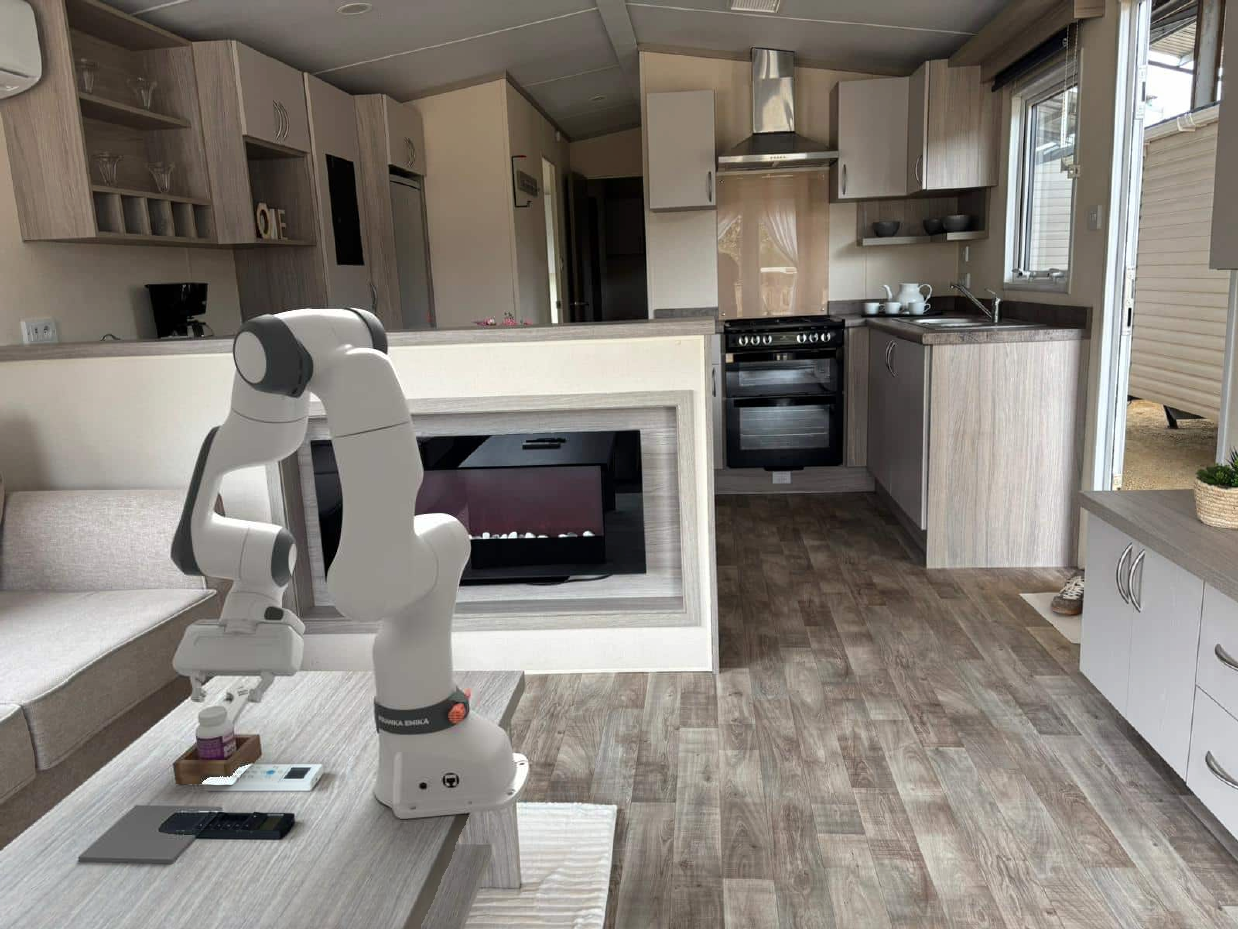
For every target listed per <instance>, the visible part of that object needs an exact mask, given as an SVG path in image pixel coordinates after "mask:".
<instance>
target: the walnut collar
mask: <svg viewBox="0 0 1238 929" xmlns="http://www.w3.org/2000/svg"><path fill="white" fill-rule="evenodd" d="M234 735H235V742H236V749H237V751H236V752H235V753H234V754H233V755H232V756H231V757H230V758H229V759H228V760H199V755H198V748H197V741H196V742H195V743H193V745H191V746H190V747H189V748H188V749H187V750H186V751H185V752H184V753H182V754H181V755H180V756H179V757H178V758H177V759H176V760H175V761H173V762H172V768H173V775H174V781H175V785H176V784H181V785H182V784H187V785H186V786H189V784H192V785H191V786H200V785H199V784H202V782H203V781H204V780H206V779H207V778H209V777H220V776H221V777H222V776H223V777H227V776H228V777H230V776H232V775H233V773H235V771H236V770H237V769H238V768H239V767H242V766H245V765H248V764H251V763H254V762H255V761H256V760H257V759H260V758H261V756H262V755H263V752H262V744H261V743H262V742H261V736H260V734H259V733H258V734H255V733H254V734H253V733H251V734H250V733H249V734H247V733H246V734H244V733H238V734H237V733H234ZM257 761H258V760H257ZM257 761H256V762H257ZM256 762H255V763H256ZM255 763H254V764H255ZM195 784H197V785H195ZM181 785H180V786H181ZM182 786H183V785H182Z"/></svg>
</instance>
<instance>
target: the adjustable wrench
mask: <svg viewBox="0 0 1238 929" xmlns="http://www.w3.org/2000/svg"><path fill="white" fill-rule="evenodd" d="M256 679H257V683H255V684H253V685H250V686H244V685H243V683H242V682H243V681H238V682H237V683H235V684H233V685H232V686H230V688H229V690H228V691H225V692H226V698H227V699H228V700H229V699H231V700H232V701H231V703H230V704H229V705H228V706H227V708H226V711H227V719H229V720H230V721H231V722H232V723H233V727H235V726H234V725H235V724H236V722H237V721H238V719H239V718H240V716H241V715H242V713H243V711H244V710H245V708H246V706H247V705H248V703H251V702H250V701H248V695H249V691H250V689H255V688H256V686H257V685H258V684H259V683H260V681H261V680H262V679H261V678H260V677H257V678H256Z"/></svg>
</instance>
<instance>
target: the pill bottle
mask: <svg viewBox="0 0 1238 929" xmlns="http://www.w3.org/2000/svg"><path fill="white" fill-rule="evenodd" d="M226 710H227V708H226V707H225V706H223V705H214V706H210V707H207V708H204V709H201V711H199V712H198V713H197V719H198V723H199V725H198V726H197V727H196V728H195V740H196V742H197V748H198V755H199V760H228V759H229V758H230V757H231V756H232V755H233V754H234V753H235V752H236V751H237V749H236V742H235V735H234V734H235V729H234V728H235V726H233V723H232V722H231V721H230V720H229V719H227V711H226Z"/></svg>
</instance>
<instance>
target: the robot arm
mask: <svg viewBox="0 0 1238 929" xmlns="http://www.w3.org/2000/svg"><path fill="white" fill-rule="evenodd" d="M388 350H389V344H388V337H387V333H386V331H385V328H384V326H383V324H382V323H381V321H380V319H378V318H377V316H375V314H374V313H372V312H370V311H367V310H365V309H360V308H352V307H342V308H340V309H337V308H336V309H335V308H333V309H331V308H327V309H326V308H325V309H323V308H322V309H321V308H320V309H312V308H305V309H296V310H291V311H285V312H281V313H277V314H264V315H260V316H257V317H254V318H251V319H249V320H247V321H246V322H244V323H242V324H241V325H240V326H239V327H238V329H237V330H236V332H235V336H234V339H233V344H232V356H233V357H232V358H233V362H234V365H235V368H236V369H235V372H234V379H233V382H232V383H233V384H232V391H231V398H230V409H229V413H228V415H227V417H226V419H225V420H224V422H223V423H222V424H221V425H217V426H213V427H212V428H211V429H210V431H208V433H207V435H206V436H205V438H204V440H203V442H202V445H201V446H200V450H199V452H198V455H197V458H196V462H195V465H194V469H193V472H192V476H191V480H190V483H189V487H188V490H187V495H186V498H185V502H184V505H183V508H182V513H181V516H180V519H179V522H178V525H177V527H176V529H175V531H174V534H173V536H172V539H171V544H170V560H172V562H173V564H174V565H175V566H176V567H177V568H178V570H179V571H180V572H182V573H183V574H184V575H185V576H192V577H212V578H213V577H214V578H221V579H228V580H233V584H232V586H231V589H230V590H229V592H228V593H226V598H225V600H224V603H223V604H224V605H223V607H222V611H221V614H220V617H219V618H218V619H217V618H216V619H204V618H203V619H202V618H201V619H197V620H196V621H194V622H192V623H191V624H189V625H188V626H187V627H186V629H185V631H184V634H183V638H182V639H181V640H180V643H179V645H178V647H177V649H176V652H175V654H174V655H173V656H174V657H173V659H172V666H173V667H172V668H173V669H174V670H175V671H176V672H178V674H180V675H182V676H184V677H189V681H190V683H191V687H192V691H191V694H190V700H191V701H192V702H193V703H204V702H205V700H206V697H207V695H208V691H206V690H204V689H203V686H202V683H204V682H205V681H206V678H207V677H259V678H261V679H262V680H261V681H260V683H259V684H258V685H257V686H256V688H255V689H250V691H249V695H248V701H250V702H249V703H255V704H256V703H257V704H260V703H261V702H262V700H263V696H264V693H265V692H267V691H268V690H269V688H270V687H271V686H272V685H273V684H274V682H275V678H276V677H294V676H295V675H296V674H297V673H298V672H299V671H300V669H301V664H302V661H303V656H304V655H303V654H304V648H305V646H304V645H305V644H304V643H305V642H304V639H303V638H302V636H303V635H304V633H305V631H306V626H305V624H304V623H303V621H302V620H301V619H300V618H299V617H298V616H297V615H296V614H295V613H293V612H292V611H291V610H289V609H287V608H284V607H282V606H283V600H282V598H283V595H284V593H285V590H286V589H287V588H288V585H289V582H290V581H292V579H293V578H294V574H295V570H296V566H297V563H298V559H299V551H300V549H299V545H298V542H297V541H296V538H294V536H293V534H292V533H291V532H290V531H289V529H287V528H286V527H285V526H280V525H278V524H277V525H276V524H272V523H266V522H260V521H251V520H250V521H249V520H244V519H237V518H232V517H231V518H230V517H225V516H221V515H220V514H218V513H216V512H215V505H216V503H217V498H218V495H219V493H220V492H219V491H220V488H221V484H222V482H223V477H224V476H225V475H227V474H229V473H230V472H235V471H238V470H243V469H249V468H253V467H262V466H268V465H271V464H274V463H277V462H280V461H282V460H284V459H286V458H288V457H289V456H291V455H292V454H293V453H295V452H297V450H298V449H299V448H300V446H301V445H302V444H303V442H304V439H305V437H306V432H307V429H308V423H309V416H310V407H311V406H310V404H311V393H312V394H313V395H315V396H316V398H318V399H319V401H320V402H321V403H322V405H323V408H324V412H325V416H326V421H327V427H328V431H329V436H330V439H331V443H332V447H333V453H334V456H335V462H336V466H337V470H338V474H339V475H338V476H339V481H340V485H341V493H342V523H341V532H340V539H339V544H338V547H337V552H336V554H335V557H334V558H333V560H332V563H331V564H330V566H329V568H328V570H327V573H326V574H327V576H326V588H327V589H326V590H327V593H328V596H329V599H330V601H331V603H332V604H333V606H334V608H336V610H337V611H338V612H339V613H340V614H341V615H343V616H344V618H347V619H348V620H351V621H354V622H357V623H369V622H374V621H378V620H382V621H381V625H379V629H378V631H377V633H376V635H375V637H374V638H373V642H372V647H371V658H372V667H373V668H372V669H373V678H374V679H373V680H374V687H375V696H374V698H373V707H374V708H373V714H374V715H373V717H374V722H375V729H376V733H377V734H378V760H377V761H378V763H377V770H376V771H377V772H376V778H375V783H374V787H373V792H374V796H375V797H376V799H377V800H378V801H379V802H381V803H382V804H384V805H386V806H387V807H389V808H390V809H392V812H393V814H394V815H395V817H397V819H402V820H404V819H406V820H407V819H417V818H426V817H427V818H428V817H438V816H448V815H449V816H450V815H462V814H471V813H481V812H493V811H494V812H495V811H502V810H505V809H507V808H509V807H510V806H512V805H513V804H515V802H516V801H518V799H519V798H520V797H521V796H522V794H523V793H524V791H525V789H526V787H527V785H528V782H529V780H530V775H531V768H530V764H529V760H528V758H527V757H526V756H525V755H524V754H522V753H516V752H513V747H512V743H511V741H510V738H509V735H508V734H507V732H506V731H505V730H504V728H502V727H500V726H498V725H497V724H495V723H494V722H491V721H490V720H488V719H487V718H485V717H483V716H482V715H480V714H478V713H477V712H475V711H473V710H472V709H470V698H471V695H472V693H471V688H470V687H468V688H467V690H466V691H465V692H463V690H461V689H460V688H459V686H457V684H456V683H455V677H454V663H453V662H454V661H453V650H452V649H453V647H452V635H453V634H452V632H453V624H454V615H455V609H456V604H457V598H458V597H457V596H458V592H459V585H460V582H461V577H462V575H463V572H464V570H465V567H466V565H467V563H468V561H469V559H470V555H471V552H472V551H471V550H472V545H471V544H472V543H471V539H470V535H469V533H468V531H467V529H466V527H465V526H464V525H463V523H461V521H460V520H458V518H456V517H454V516H452V515H450V514H447V513H444V512H442V513H439V512H438V513H425V514H418V515H415V510H416V501H417V500H416V499H417V496H418V492H419V489H420V488H421V486H422V483H423V481H424V480H423V479H424V466H423V462H422V458H421V454H420V453H421V452H420V450H419V445H418V441H417V436H416V432H415V428H414V423H413V419H412V416H411V412H410V407H409V404H408V401H407V398H406V394H405V391H404V389H403V386H402V383H401V381H400V378H399V376H398V373H397V371H396V368H395V367H394V365H393V363H392V360H391V359H390V358H389V356H388V352H389V351H388Z"/></svg>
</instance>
